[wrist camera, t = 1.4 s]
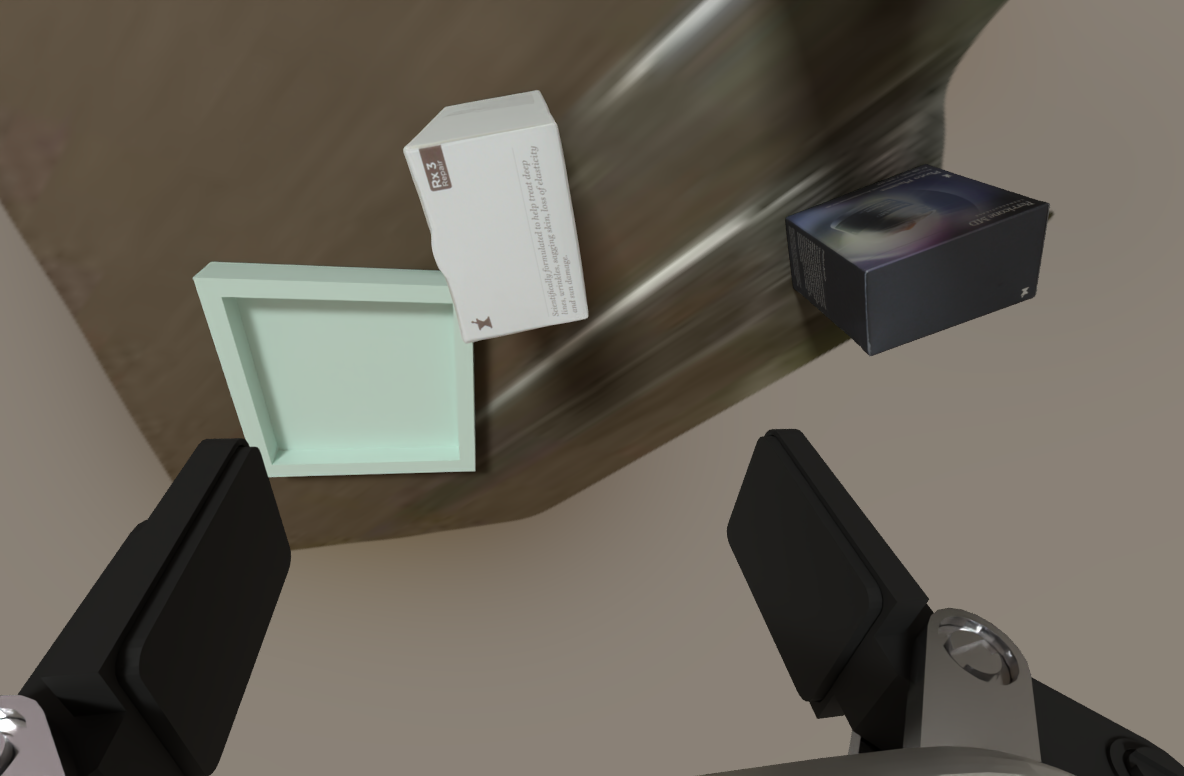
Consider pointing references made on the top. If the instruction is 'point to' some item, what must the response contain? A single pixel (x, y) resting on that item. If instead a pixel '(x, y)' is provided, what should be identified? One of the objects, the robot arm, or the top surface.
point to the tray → (343, 367)
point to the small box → (916, 255)
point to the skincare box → (500, 215)
